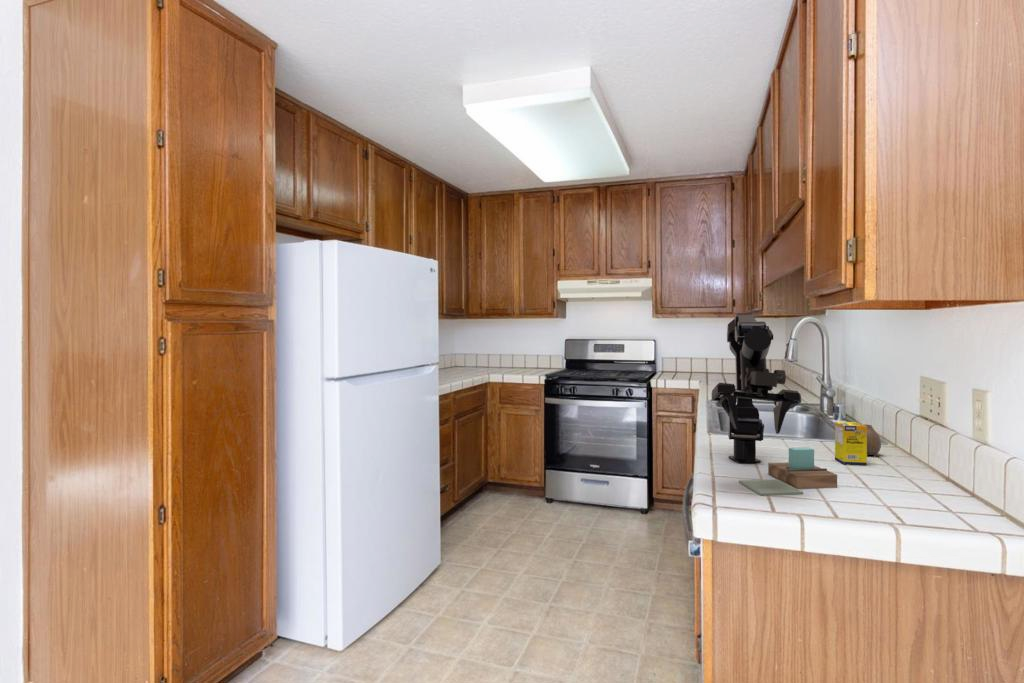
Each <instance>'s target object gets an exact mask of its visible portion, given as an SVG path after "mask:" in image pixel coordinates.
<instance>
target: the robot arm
mask: <svg viewBox="0 0 1024 683" xmlns="http://www.w3.org/2000/svg"><path fill="white" fill-rule="evenodd" d="M726 328H727V330H726V342H727V343H729V350H730V352H731V353H732V354H733V356H734V358H735V384H734V383H728V382H727V383H726V382H718V383H717V384H716V385H715V386H714V388H713V389H712V390H711V401H714V402H717V405H721V407H722V408H723V410H724V412H725V413H726V414H727V417H728V428H727V435H728V439H729V440H733V455H728V458H729V459H730V460H732V461H734V462H736V463H738V464H752V463H754V464H755V463H759V464H760V463H762V460H760V459H758V458H757V456H756V453H757V448H756V445H757V444H756V442H762V441H764V431H765V424H764V423H763V420H762V419H761V418H760V411H759V409H758V407H756V406H755V404H754V403H753V402H754V401H753V400H756V401H757V400H758V401H764V402H773V405H774V406H775V407H774V408H772V409H773V410H772V411H773V420H774V429H775V430H774V431H775V434H776V435H778V434H780V432H781V430H782V426H783V423H784V419H785V417H786V414H787V412H788V411H789V410H792V409H794V408H795V407H797V406H798V405H799V404H801V403H802V395H801V393H800V392H799V391H798V390H791V389H784V388H782V389H781V390H779V392H777V393H773V392H771V391H772V390H773V388H778V385H785V384H786V377H787V376H786V370H785V369H783V370H782V369H774V371H773V372H770V369H769V368H767V367H768V366H767V356H768V354H769V350H770V348H771V343H772V341H774V333H773V332H772V330H771V329H770V326H769V325H767V323H766V321H764V320H763V321H757V320H756V317H755V313H753V312H737V313H735V315H734V318H733V319H732V320H731V321H730V322H729V323H728V324H727V327H726Z"/></svg>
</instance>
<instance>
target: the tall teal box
mask: <svg viewBox="0 0 1024 683" xmlns="http://www.w3.org/2000/svg"><path fill="white" fill-rule="evenodd" d="M788 462H789V469H814V465H815V449H814V448H811V447H808V446H807V447H806V446H805V447H802V446H801V447H788Z"/></svg>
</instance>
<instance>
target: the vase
mask: <svg viewBox="0 0 1024 683" xmlns="http://www.w3.org/2000/svg"><path fill="white" fill-rule="evenodd" d="M862 424H863V423H862ZM863 425H865V426H867V455H875V456H876V455H878V453H879V452H880V450H881V449H882V440H881V438H880V435H879V434H878V433H877V431H876V430H875V429H874V427H873V425H871V424H865V423H864V424H863Z"/></svg>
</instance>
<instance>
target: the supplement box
mask: <svg viewBox="0 0 1024 683" xmlns="http://www.w3.org/2000/svg"><path fill="white" fill-rule="evenodd" d="M834 436H835V437H834V460H835V461H837V462H838V463H840V464H842V465H846V464H855V465H854V466H867V465H868V464H867V463H868V460H867V459H868V456H867V426H865V425H863V423H860V422H858V421H857V422H855V421H835V422H834Z"/></svg>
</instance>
